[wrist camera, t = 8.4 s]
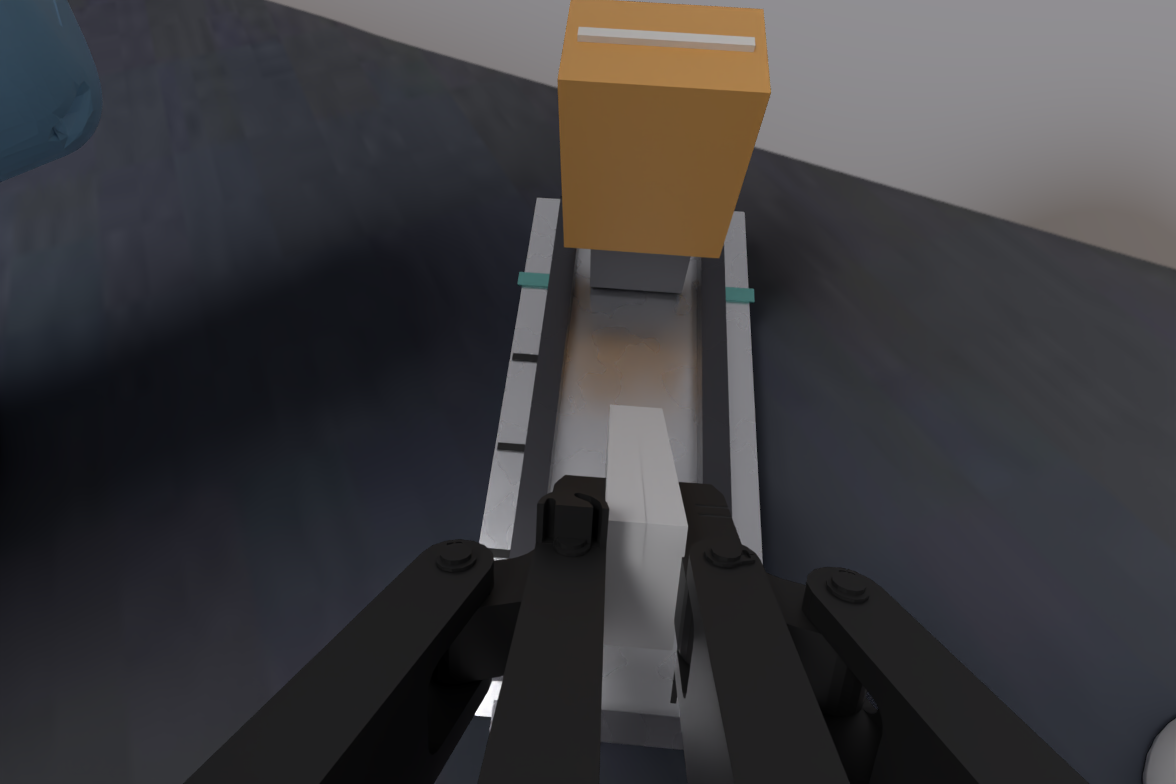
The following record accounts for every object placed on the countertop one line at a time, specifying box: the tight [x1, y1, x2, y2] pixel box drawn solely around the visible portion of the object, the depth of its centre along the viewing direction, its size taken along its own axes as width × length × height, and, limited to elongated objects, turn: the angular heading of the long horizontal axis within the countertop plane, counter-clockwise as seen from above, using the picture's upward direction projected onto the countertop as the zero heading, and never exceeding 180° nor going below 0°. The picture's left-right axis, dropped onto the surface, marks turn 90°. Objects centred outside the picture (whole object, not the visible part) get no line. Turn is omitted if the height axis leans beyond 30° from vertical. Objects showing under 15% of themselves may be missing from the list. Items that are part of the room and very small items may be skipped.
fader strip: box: [475, 196, 763, 750], centre depth 24 cm, size 23×10×4 cm, turn 175°
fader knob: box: [558, 0, 771, 293], centre depth 22 cm, size 4×6×10 cm, turn 85°
